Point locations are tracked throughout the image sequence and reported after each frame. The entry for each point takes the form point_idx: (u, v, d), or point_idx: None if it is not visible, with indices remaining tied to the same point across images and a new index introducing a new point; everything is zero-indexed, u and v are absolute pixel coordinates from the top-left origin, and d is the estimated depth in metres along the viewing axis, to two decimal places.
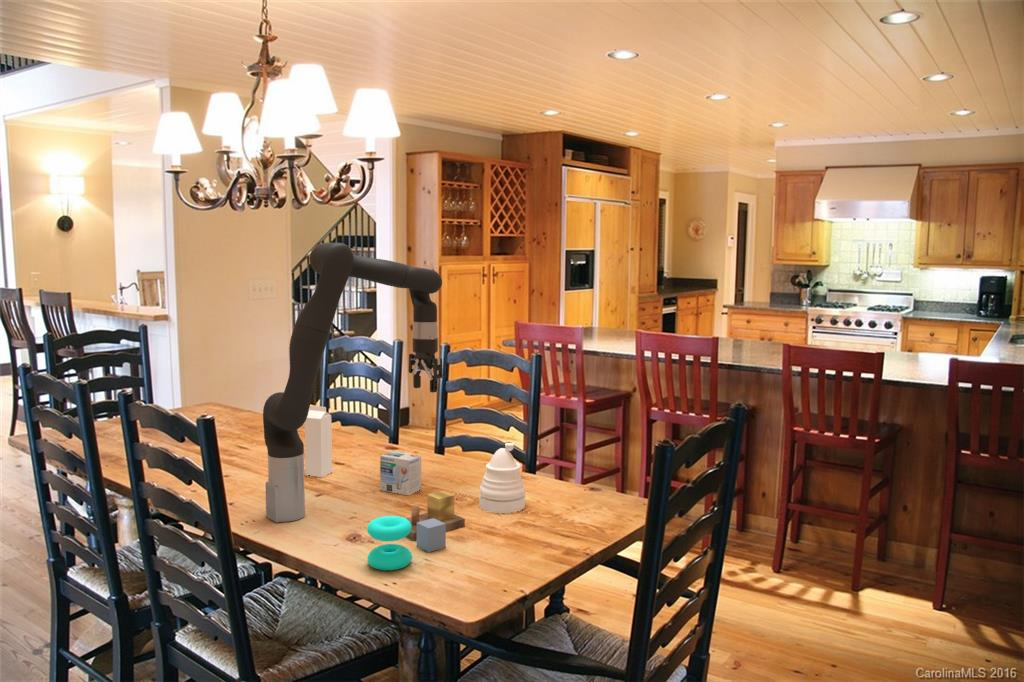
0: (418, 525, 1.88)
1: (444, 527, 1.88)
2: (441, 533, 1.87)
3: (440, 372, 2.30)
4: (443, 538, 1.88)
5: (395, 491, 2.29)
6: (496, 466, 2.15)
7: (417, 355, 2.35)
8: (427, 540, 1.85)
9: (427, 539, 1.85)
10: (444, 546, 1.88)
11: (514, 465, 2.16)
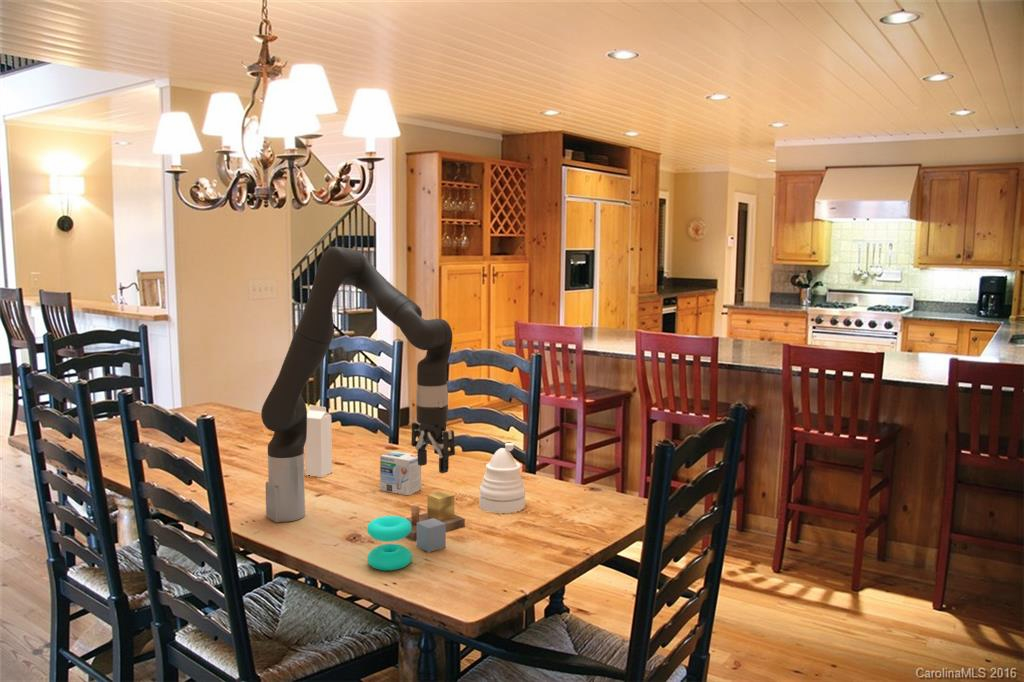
0: (418, 525, 1.88)
1: (444, 527, 1.88)
2: (441, 533, 1.87)
3: (452, 448, 1.83)
4: (443, 538, 1.88)
5: (395, 491, 2.29)
6: (496, 466, 2.15)
7: (422, 425, 1.88)
8: (427, 540, 1.85)
9: (427, 539, 1.85)
10: (444, 546, 1.88)
11: (514, 465, 2.16)
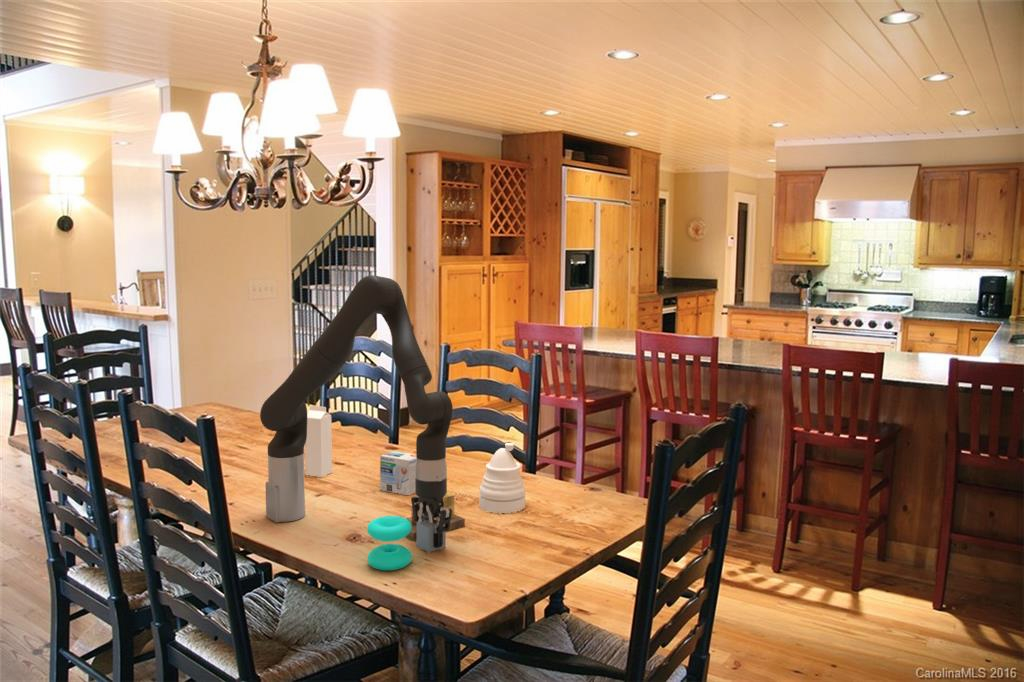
0: (418, 525, 1.88)
1: None
2: None
3: (447, 525, 1.84)
4: (443, 538, 1.88)
5: (395, 491, 2.29)
6: (496, 466, 2.15)
7: (420, 496, 1.89)
8: (427, 540, 1.85)
9: (427, 539, 1.85)
10: (444, 546, 1.88)
11: (514, 465, 2.16)
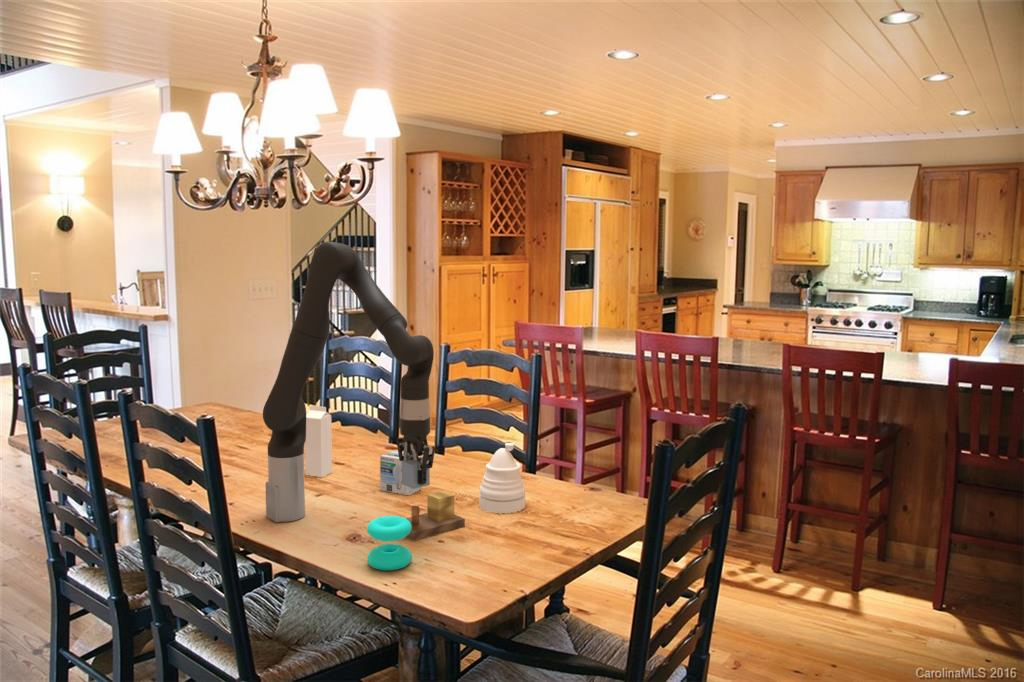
0: (403, 463, 1.96)
1: None
2: None
3: (430, 462, 1.93)
4: (427, 476, 1.97)
5: (395, 491, 2.29)
6: (496, 466, 2.15)
7: (405, 436, 1.97)
8: (411, 477, 1.94)
9: (411, 476, 1.94)
10: (428, 483, 1.97)
11: (514, 465, 2.16)
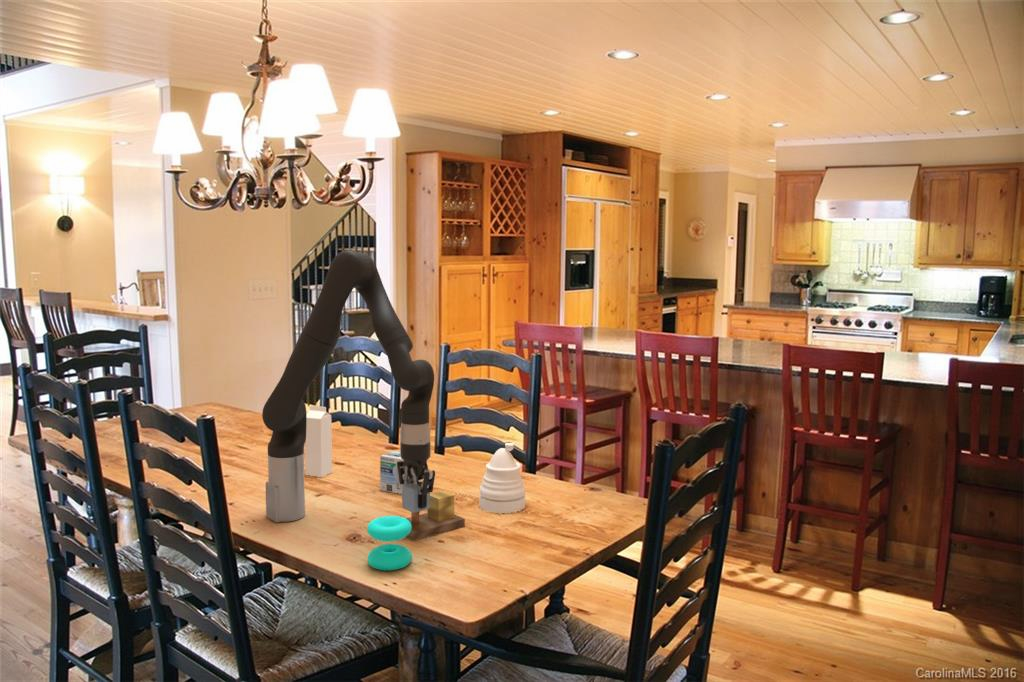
0: (404, 487, 1.97)
1: None
2: None
3: (430, 486, 1.94)
4: (427, 499, 1.97)
5: (395, 491, 2.29)
6: (496, 466, 2.15)
7: (405, 460, 1.98)
8: (412, 501, 1.95)
9: (412, 500, 1.95)
10: (428, 507, 1.98)
11: (514, 465, 2.16)
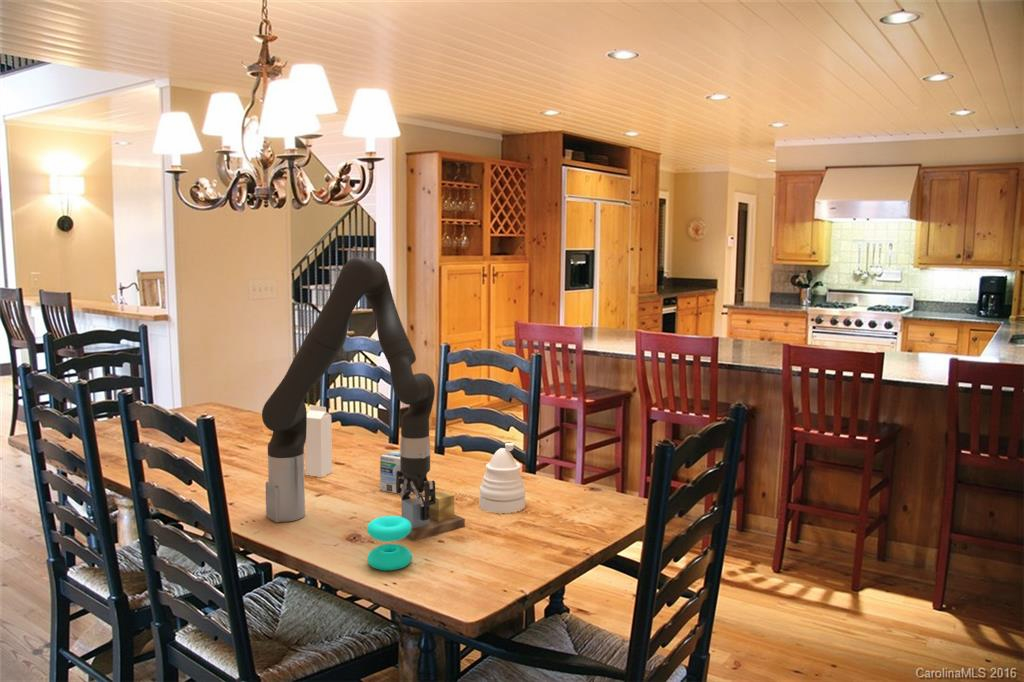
0: (403, 502, 1.98)
1: None
2: None
3: (433, 497, 1.93)
4: None
5: (395, 491, 2.29)
6: (496, 466, 2.15)
7: (406, 474, 1.98)
8: (411, 517, 1.95)
9: (411, 516, 1.95)
10: (428, 523, 1.98)
11: (514, 465, 2.16)
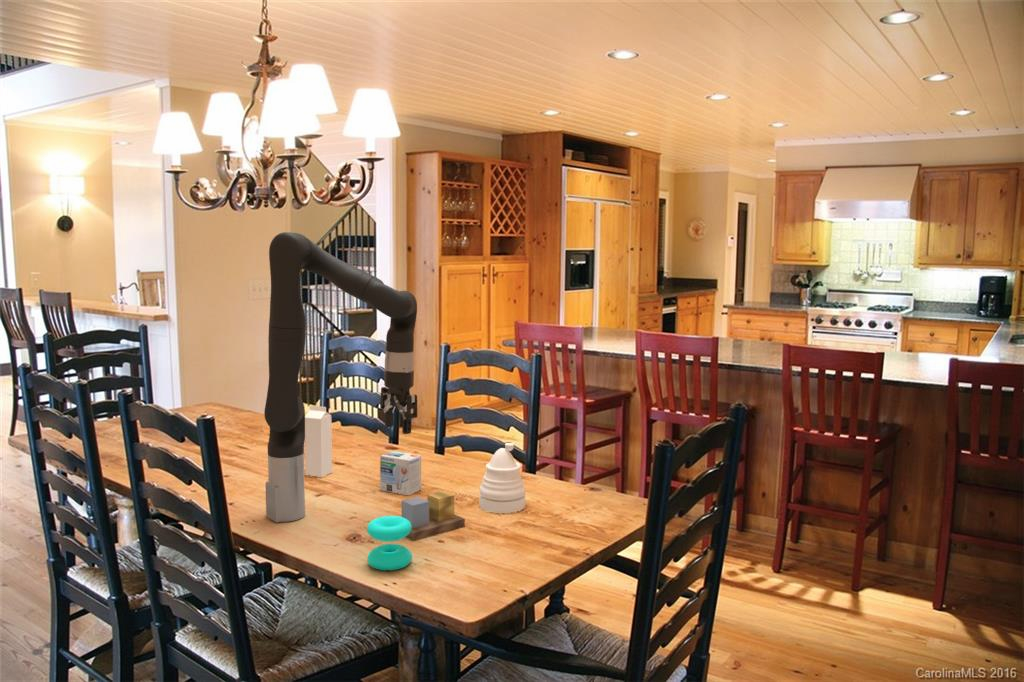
0: (403, 502, 1.98)
1: (427, 505, 1.98)
2: (425, 510, 1.97)
3: (415, 411, 1.98)
4: (427, 515, 1.98)
5: (395, 491, 2.29)
6: (496, 466, 2.15)
7: (390, 389, 2.03)
8: (411, 517, 1.95)
9: (411, 516, 1.95)
10: (428, 523, 1.98)
11: (514, 465, 2.16)
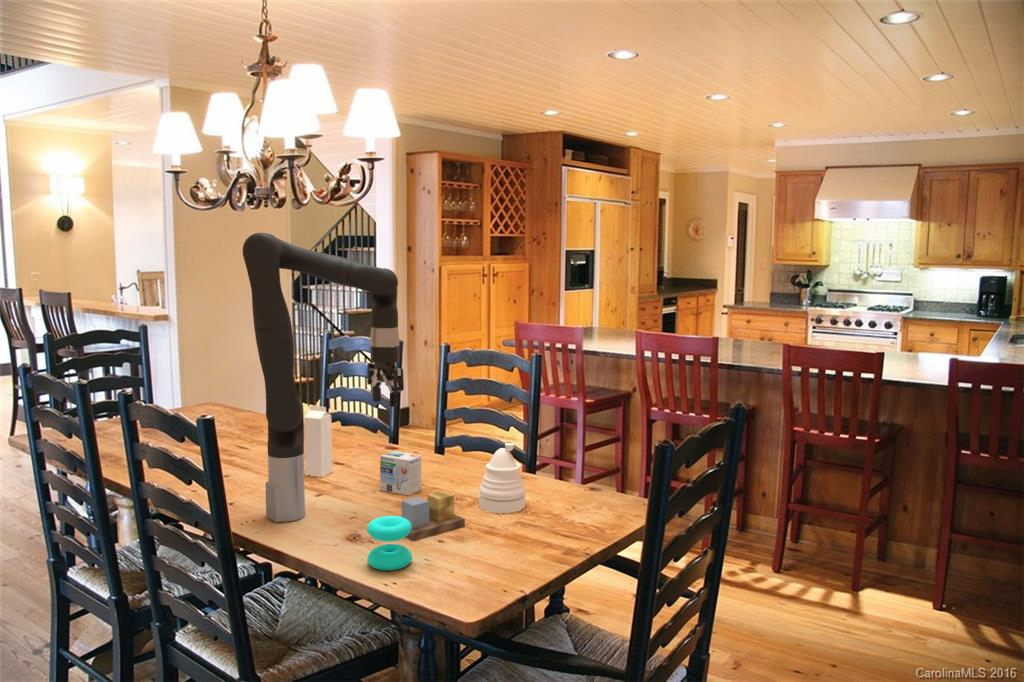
0: (403, 502, 1.98)
1: (427, 505, 1.98)
2: (425, 510, 1.97)
3: (401, 384, 2.04)
4: (427, 515, 1.98)
5: (395, 491, 2.29)
6: (496, 466, 2.15)
7: (376, 365, 2.09)
8: (411, 517, 1.95)
9: (411, 516, 1.95)
10: (428, 523, 1.98)
11: (514, 465, 2.16)
